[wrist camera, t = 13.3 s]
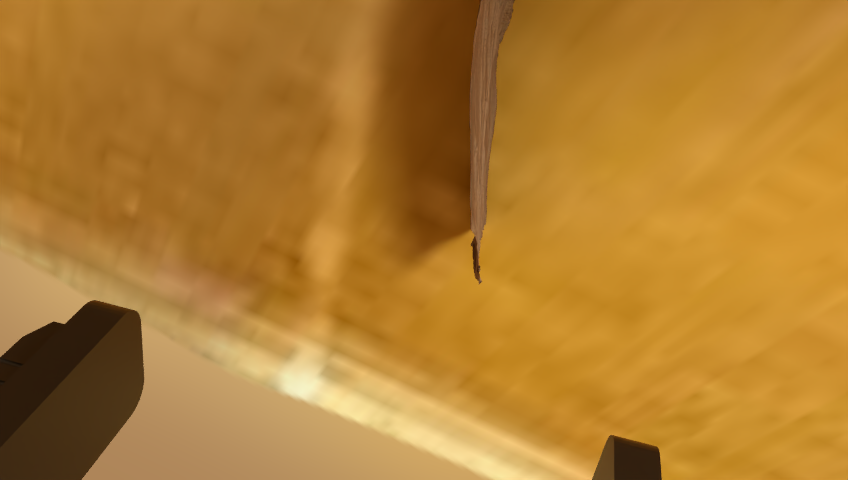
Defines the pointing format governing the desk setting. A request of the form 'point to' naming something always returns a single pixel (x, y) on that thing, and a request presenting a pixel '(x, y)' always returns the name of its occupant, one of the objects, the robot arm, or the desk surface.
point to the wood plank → (484, 108)
